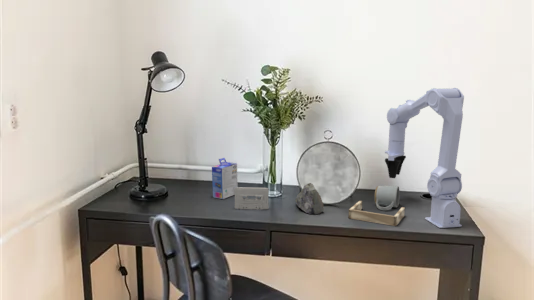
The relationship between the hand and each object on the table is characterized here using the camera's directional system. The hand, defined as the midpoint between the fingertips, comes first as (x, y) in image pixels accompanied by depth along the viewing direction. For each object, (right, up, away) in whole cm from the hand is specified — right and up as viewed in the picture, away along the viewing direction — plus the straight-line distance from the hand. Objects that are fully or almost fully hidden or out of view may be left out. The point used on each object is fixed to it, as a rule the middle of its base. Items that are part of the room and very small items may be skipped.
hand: (394, 176), depth 188 cm
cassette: (-53, -11, -11) cm, 56 cm away
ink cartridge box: (-64, -8, +5) cm, 65 cm away
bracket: (-11, -13, -18) cm, 25 cm away
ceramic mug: (-4, -11, -6) cm, 14 cm away
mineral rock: (-33, -11, -10) cm, 36 cm away
